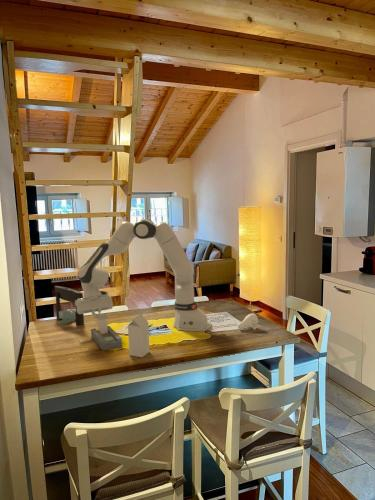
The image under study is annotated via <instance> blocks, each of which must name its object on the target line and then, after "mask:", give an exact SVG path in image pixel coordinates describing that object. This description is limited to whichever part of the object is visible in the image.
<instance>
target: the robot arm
mask: <svg viewBox="0 0 375 500" xmlns="http://www.w3.org/2000/svg"><path fill="white" fill-rule="evenodd" d="M136 237H137V238H138V239H141V240H148V239H151V238H154V239H155V241H156V242H157V244H158V246H159V247H160V249H161V251H162V253H163V254H164V256H165V258H166V260H167V263H168V264H169V266H170V268H171V269H172V271H173V274H174V296H175V297H174V298H175V300H174V312H175V315H174V321H173V327H174V328H176V330H177V331H184V332H185V331H186V332H187V331H189V332H190V331H191V332H205V331H208V330H209V329H210V328H211V327H212V322H210V321H209V320H208V317H207V315H206V313H204V311H202V310H201V309H199V307H198V306H199V302H196V301H195V287H194V286H195V285H194V284H195V283H194V282H195V281H194V272H195V270H194V269H195V268H194V266H193V263H192V262H191V260H190V259H189V257H188V256H187V253H186V251H185V250H184V247H183V246H182V244H181V243H180V240H179V239H178V237H177V235H176V233H175V232H174V230H173V229H172V228H171V227H170V225H169V224H168V223H167V222H165V221H163V222H159V223H154V221H153V220H151V219H149V218H141V219H139V220H137V221H136V222H135V223H132V222H131V221H122V222H121V223H120V224H119V226H117V228H116V229H115V231H114V232H113V234H112V235H111V237H110V238H108V240H107V241H106V242H103V243H102V244H100V245H99V246H98V247H97V248H96V249H95V251H94V252H93V254H91V256H90V257H89V259H88V260H86V262H85V263H84V264H83V265H82V266H81V267H80V268H79V269H78V272H77V275H78V276H77V277H78V280H79V281H80V283H81V289H82V290H83V298H81V299H77V300H76V301H75V303H74V304H75V307H76V306H77V313H78V314H89V313H91V315H93V316H94V318H95V319H97V315H101V313H102V312H103V311H108V310H112V309H113V308H114V302H113V299H112V298H111V296H110V295H109V292H108V291H107V290H99V289H101V288H102V287H104V286H106V284H108V282H109V278H110V276H109V272H108V271H107V270H105V269H103V268H98V267H97V266H98V265H99V264H100V262H101V261H102V260H103V259H104V258H105V257H107V256H113V255H120V254H121V255H122V254H124V253H125V252H126V250H128V248H129V247H130V244H131V243H132V242H133V239H135V238H136ZM96 312H98V313H96Z"/></svg>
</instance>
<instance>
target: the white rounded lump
mask: <svg viewBox="0 0 375 500" xmlns="http://www.w3.org/2000/svg"><path fill="white" fill-rule="evenodd" d="M258 325H259V319H258V316H257V314H255V313H249V314H247V315H246V316H245V317H244V319H243V320H242V321H241V322H239V323H238V324H237V328H238V329H239V331H245V328H252V329H253V330H254V331H255V330H256V329H257V327H258Z"/></svg>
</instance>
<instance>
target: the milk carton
mask: <svg viewBox="0 0 375 500" xmlns="http://www.w3.org/2000/svg"><path fill="white" fill-rule="evenodd" d="M149 331H150V330H149V321H148V320H147V319H146V318H145V317H144V316H143V313H140V314H138V315H136V316H135V317H133V318H132V319H131V322H130V323H129V324H128V325H127V334H128V355H129V356H133V357H138V358H143V357H144V356H146V355H148V354H149V353H150V332H149Z"/></svg>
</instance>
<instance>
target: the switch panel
mask: <svg viewBox="0 0 375 500" xmlns="http://www.w3.org/2000/svg"><path fill="white" fill-rule="evenodd" d="M107 326H108V333H105V334H100V333H99V332H98V330H97V329H96V328H91V329H90V335H91V336H90V337H91V338H92V340H93V341H94V342H95V343H96V344H97V345H98V347H99V348H100V349H101V350H102V351H107V350H108V351H109V350H111V349H116V347H117V348H121V347H123V339H122V338H123V337H122V336H120V335H119V334H118V333H117V332H116V331H115V330H114V329H113V328H112V327H111V326H109V325H107ZM120 346H121V347H120Z"/></svg>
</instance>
